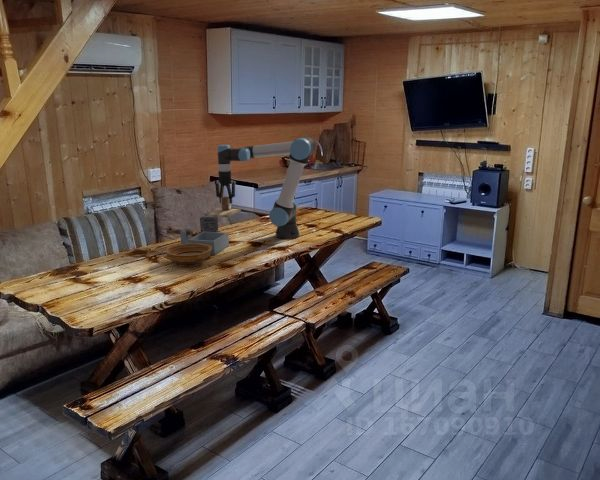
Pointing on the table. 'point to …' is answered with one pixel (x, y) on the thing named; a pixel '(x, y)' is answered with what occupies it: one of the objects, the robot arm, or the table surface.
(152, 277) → the table surface
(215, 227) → the small box
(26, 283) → the table surface
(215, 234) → the toolbox
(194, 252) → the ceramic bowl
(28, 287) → the table surface
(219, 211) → the board with wooden block
